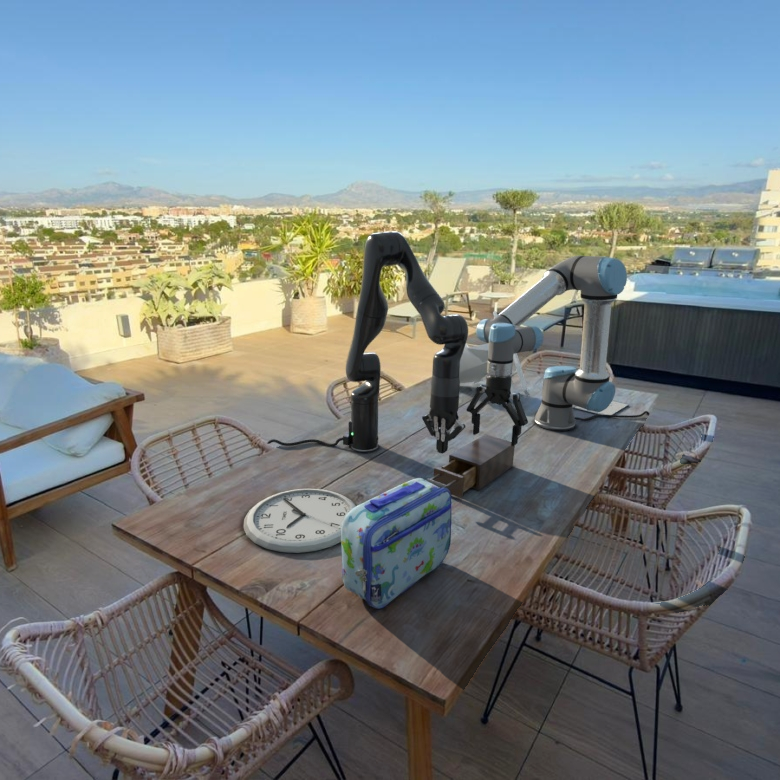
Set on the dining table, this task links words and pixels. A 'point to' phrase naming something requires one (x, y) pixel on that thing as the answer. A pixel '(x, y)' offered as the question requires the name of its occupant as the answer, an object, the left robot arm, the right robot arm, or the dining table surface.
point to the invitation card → (608, 408)
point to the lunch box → (395, 540)
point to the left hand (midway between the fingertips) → (441, 452)
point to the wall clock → (298, 520)
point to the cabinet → (486, 458)
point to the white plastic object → (483, 365)
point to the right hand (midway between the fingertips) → (494, 438)
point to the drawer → (455, 477)
